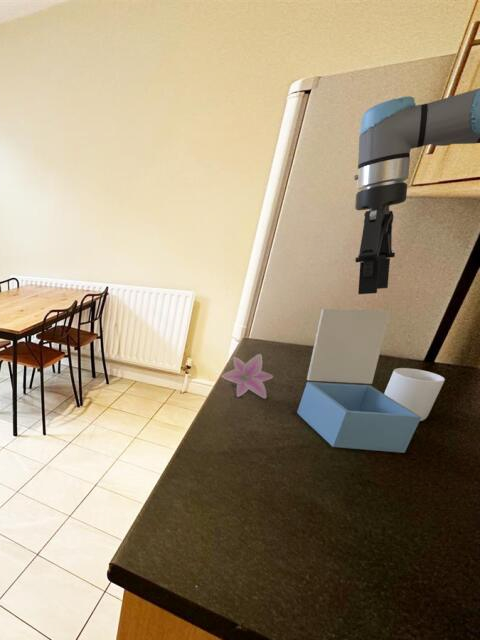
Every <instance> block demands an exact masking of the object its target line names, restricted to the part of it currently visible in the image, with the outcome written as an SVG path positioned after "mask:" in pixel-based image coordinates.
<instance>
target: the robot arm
mask: <svg viewBox="0 0 480 640" xmlns="http://www.w3.org/2000/svg"><path fill="white" fill-rule="evenodd" d="M416 104H417V103H416V102H415V97H413V96H409V95H408V96H402V97H399V98H392V99H389V100H386V101H383V102H380V103H378V104H375V105H373V106H371V107H369V108H368V109H367V110H366V111H365V112H364V113H363V114H362V115H361V122H360V128H359V129H360V130H359V136H358V137H359V138H358V155H357V156H358V157H357V158H358V159H357V173H358V174H355V175H353V180H354V181H356V182H357V183H356V189H357V190H359V191H358V192H357V193H356V194H355V206H354V209H355V211H365V212H364V214H363V215H364V220H363V229H362V233H361V240H360V247H359V253H358V255H357V257H355V263H359V278H358V290H357V291H358V292H357V294H358V295H368V294H369V295H370V294H377V293H378V290H379V289H382V290H383V289H388V288H389V278H390V277H389V275H390V266H391V265H390V264H391V258H395V256H396V252H393V250H392V247H393V246H392V242H393V241H392V240H393V238H392V237H393V236H392V235H393V221H394V212H393V210H390V206H394V205H400V204H402V203H404V202H406V200H407V195H408V194H407V193H408V184H407V182H405V181H407V180H408V179H409V176H410V174H409V173H410V165H411V164H410V163H411V156H410V155H411V150H412V149H416V148H422V147H425V146H431V145H432V146H436V147H438V146H439V147H445V146H450V145H473V144H480V87H479V88H475V89H472V90H469V91H466V92H462V93H458V94H455V95H451V96H448V97H444V98H441V99H438V100H437V99H436V100H434V101H431V102H427V103H423V104H417V105H416Z"/></svg>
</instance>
